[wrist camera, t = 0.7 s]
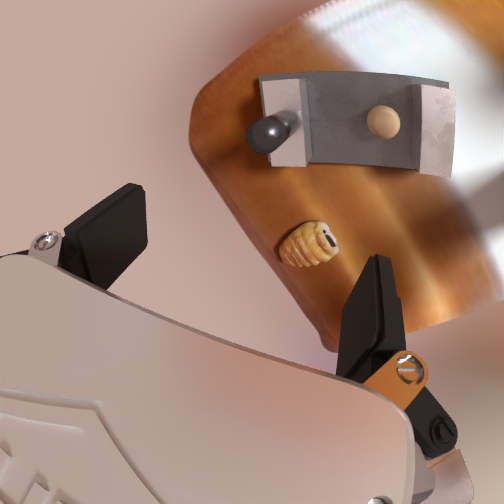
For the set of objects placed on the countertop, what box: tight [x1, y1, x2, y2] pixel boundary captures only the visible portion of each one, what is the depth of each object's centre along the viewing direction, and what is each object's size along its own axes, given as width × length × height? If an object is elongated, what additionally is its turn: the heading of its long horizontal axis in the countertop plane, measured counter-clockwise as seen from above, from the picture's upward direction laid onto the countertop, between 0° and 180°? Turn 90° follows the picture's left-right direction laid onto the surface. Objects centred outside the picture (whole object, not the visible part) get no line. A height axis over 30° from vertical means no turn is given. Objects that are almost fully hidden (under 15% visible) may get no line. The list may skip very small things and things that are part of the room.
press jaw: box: [246, 79, 312, 167], centre depth 27 cm, size 4×10×13 cm, turn 7°
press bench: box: [258, 71, 455, 178], centre depth 28 cm, size 24×12×6 cm, turn 97°
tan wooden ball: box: [367, 105, 400, 139], centre depth 27 cm, size 4×4×4 cm
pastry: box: [279, 221, 340, 267], centre depth 43 cm, size 9×7×4 cm
